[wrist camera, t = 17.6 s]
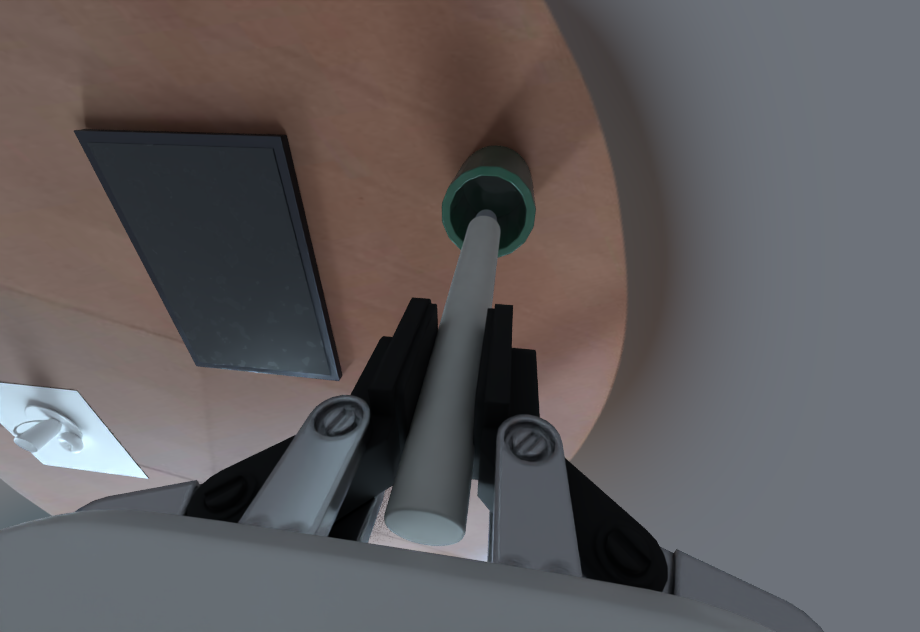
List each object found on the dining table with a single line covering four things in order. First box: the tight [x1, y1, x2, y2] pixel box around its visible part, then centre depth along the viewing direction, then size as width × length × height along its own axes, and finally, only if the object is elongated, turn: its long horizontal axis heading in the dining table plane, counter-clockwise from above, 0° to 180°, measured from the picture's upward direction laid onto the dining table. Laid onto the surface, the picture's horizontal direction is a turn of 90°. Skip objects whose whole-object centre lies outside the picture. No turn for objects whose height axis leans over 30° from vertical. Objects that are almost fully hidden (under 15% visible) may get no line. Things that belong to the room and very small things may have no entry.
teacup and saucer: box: [12, 405, 85, 454], centre depth 52 cm, size 9×8×4 cm
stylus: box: [384, 210, 500, 546], centre depth 13 cm, size 2×2×15 cm
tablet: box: [74, 129, 342, 381], centre depth 34 cm, size 24×17×1 cm
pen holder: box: [442, 146, 536, 258], centre depth 24 cm, size 5×5×7 cm
